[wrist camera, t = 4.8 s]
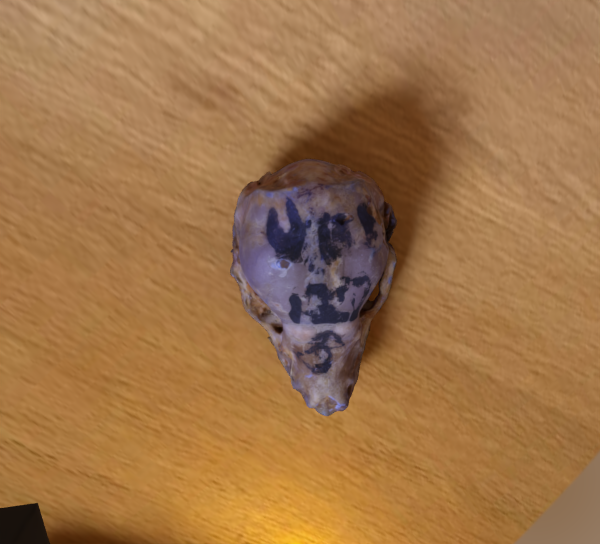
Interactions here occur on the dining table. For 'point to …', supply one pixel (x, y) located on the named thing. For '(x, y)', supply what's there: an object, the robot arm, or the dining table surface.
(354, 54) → the dining table surface
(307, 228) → the skull
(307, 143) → the dining table surface
